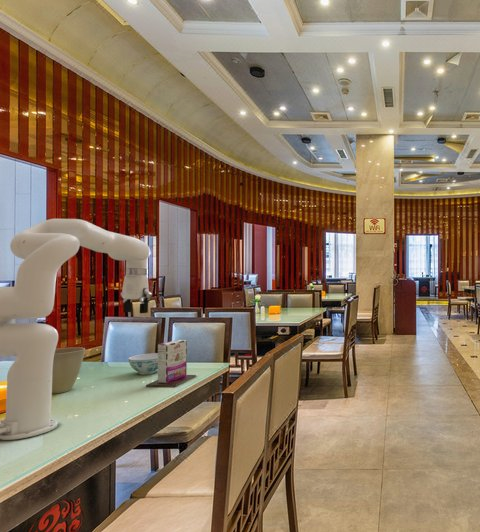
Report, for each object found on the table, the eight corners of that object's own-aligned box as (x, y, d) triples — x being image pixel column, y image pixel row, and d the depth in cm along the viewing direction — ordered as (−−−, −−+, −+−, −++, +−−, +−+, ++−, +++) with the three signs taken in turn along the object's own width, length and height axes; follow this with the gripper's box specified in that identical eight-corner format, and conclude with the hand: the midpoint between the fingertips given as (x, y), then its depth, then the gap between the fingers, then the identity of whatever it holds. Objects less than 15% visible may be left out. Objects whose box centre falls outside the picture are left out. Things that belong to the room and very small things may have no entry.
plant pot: (93, 387, 152) (94, 348, 152) (49, 398, 138) (51, 355, 138) (67, 384, 156) (68, 346, 157) (23, 394, 142) (24, 353, 142)
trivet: (175, 386, 154) (175, 385, 154) (146, 386, 154) (146, 384, 154) (195, 376, 170) (195, 374, 170) (169, 376, 170) (169, 374, 170)
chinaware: (127, 378, 165) (128, 361, 165) (127, 371, 177) (128, 355, 177) (167, 373, 174) (167, 357, 174) (165, 367, 186) (165, 351, 186)
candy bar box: (177, 375, 168) (178, 339, 168) (186, 376, 167) (187, 339, 167) (156, 382, 157) (157, 343, 157) (166, 383, 156) (167, 344, 156)
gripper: (113, 272, 159) (112, 312, 158) (142, 272, 153) (141, 314, 153) (131, 272, 166) (129, 311, 166) (159, 273, 161) (158, 312, 160)
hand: (135, 312), depth 159 cm, fingers open, 9 cm apart
